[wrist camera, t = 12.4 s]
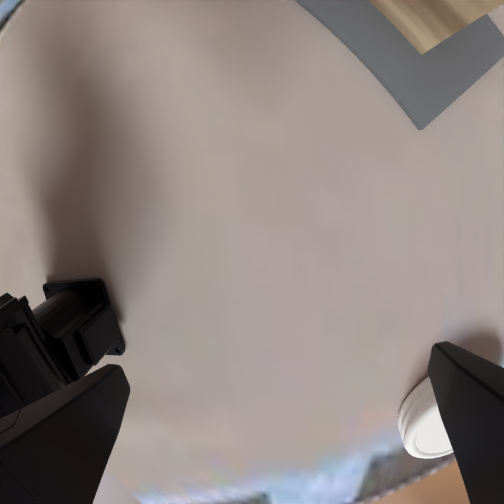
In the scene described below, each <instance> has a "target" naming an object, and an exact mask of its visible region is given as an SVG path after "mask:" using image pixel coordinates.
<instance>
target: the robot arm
mask: <svg viewBox="0 0 504 504" xmlns="http://www.w3.org/2000/svg"><path fill="white" fill-rule="evenodd" d="M96 283H97V284H98V285H99V287H97V285H96ZM43 291H44V294H45V297H46V301H44V302H43V303H42V304H40V305H39V306H37V307H36V308H35V309H33V310H31V308H30V307H29V305H28V303H29V302H28V300H27V298H26V296H23V297H21V298H19V299H17V298H15V297H12V296H11V295H10V294H8V293H6V294H4V295H2V296H1V297H0V504H93V500H94V498H95V495H96V492H97V489H98V487H99V484H100V481H101V478H102V475H103V473H104V470H105V467H106V465H107V462H108V459H109V457H110V454H111V452H112V449H113V446H114V444H115V441H116V439H117V436H118V433H119V430H120V427H121V423H122V419H123V416H124V412H125V409H126V405H127V401H128V398H129V394H130V386H129V383H128V381H127V378H126V376H125V373H124V371H123V369H122V367H121V366H120V365H115V364H107V365H105V366H103V367H102V368H100V369H98V370H96V371H94V372H92V373H90V374H88V375H86V374H87V373H88V371H89V370H90V369H91V368H92V366H93V365H94V366H96V365H97V364H98V362H99V361H100V360H101V359H102V358H103V356H104V355H119V356H120V355H122V354H123V353H124V352H125V347H124V344H123V341H122V338H121V335H120V332H119V329H118V326H117V323H116V320H115V317H114V314H113V311H112V308H111V305H110V302H109V299H108V295H107V292H106V289H105V285H104V283H103V281H102V280H101V279H99V278H92V279H80V280H67V281H54V282H47V283H45V284H44V285H43ZM118 348H119V349H120V350H119V349H118ZM428 374H429V378H430V381H431V385H432V388H433V391H434V395H435V399H436V402H437V406H438V410H439V413H440V416H441V419H442V422H443V425H444V427H445V430H446V433H447V435H448V438H449V441H450V443H451V446H452V449H453V452H454V454H455V457H456V460H457V463H458V466H459V469H460V472H461V475H462V478H463V481H464V484H465V488H466V491H467V494H468V498H469V501H470V504H504V368H503V367H501V366H499V365H496V364H494V363H492V362H490V361H488V360H486V359H484V358H482V357H479V356H477V355H475V354H473V353H471V352H469V351H467V350H465V349H462V348H460V347H458V346H456V345H454V344H452V343H450V342H447V341H444V342H439V343H435V344H434V345H433V347H432V350H431V356H430V361H429V366H428ZM85 375H86V376H85ZM84 376H85V377H84Z"/></svg>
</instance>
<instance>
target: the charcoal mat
mask: <svg viewBox="0 0 504 504" xmlns="http://www.w3.org/2000/svg"><path fill="white" fill-rule="evenodd" d="M295 1H296V2H298V3H299V4H300V5H301V6H303V7H304V8H305V9H306V10H307V11H309V12H310V13H311V14H312V15H313V16H314V17H316V18H317V19H318V20H319V21H320V22H321V23H322V24H324V25H325V26H326V27H327V28H328V29H329V30H330V31H331V32H332V33H333V34H334V35H335V36H337V37H338V38H339V39H340V40H341V41H342V42H343V43H344V44H345V45H346V46H347V47H348V48H349V49H350V50H351V51H352V52H353V53H354V54H355V55H356V56H357V57H358V58H359V59H360V60H361V61H362V63H363V64H364V65H365V66H366V67H367V68H368V69H369V70H370V71H371V72H372V73H373V74H374V76H375V77H376V78H377V79H378V80H379V81H380V82H381V83H382V85H383V86H384V87H385V88H386V89H387V90H388V92H389V93H390V94H391V95H392V96H393V98H394V99H395V100H396V101H397V103H398V104H399V105H400V106H401V108H402V109H403V110H404V111H405V113H406V114H407V115H408V117H409V118H410V119H411V120H412V122H413V123H414V124H415V126H416V127H417V129H418V130H422V129H424V128H425V127H426V126H427V125H428V124H429V123H430V122H431V121H433V120H434V119H435V118H436V117H437V116H438V115H439V114H440V113H442V112H443V111H444V110H445V109H446V108H447V107H448V106H449V105H450V104H452V103H453V102H454V101H455V100H456V99H457V98H458V97H459V96H460V95H462V94H463V93H464V92H465V91H466V90H467V89H468V88H469V87H470V86H472V85H473V84H474V83H475V82H476V81H477V80H478V79H479V78H480V77H481V76H483V75H484V74H485V73H486V72H487V71H488V70H489V69H490V68H491V67H492V66H493V65H495V64H496V63H497V62H498V61H499V60H500V59H501V58H502V57H503V56H504V36H503V35H502V33H501V32H500V31H499V29H498V28H497V27H496V25H495V24H494V23H493V21H492V20H491V19H490V17H489V16H488V15H487V14H485V15H483V16H482V17H480V18H478V19H477V20H475V21H474V22H472V23H470V24H469V25H467V26H465V27H464V28H462V29H461V30H459V31H458V32H456V33H454V34H453V35H451V36H450V37H448V38H447V39H445V40H444V41H442V42H440V43H439V44H437V45H436V46H434V47H433V48H431V49H430V50H428V51H427V52H425V53H424V54H422V55H421V54H420V53H419V52H418V51H417V50H416V49H415V48H414V46H413V45H412V44H411V43H410V42H409V41H408V40H407V39H406V38H405V36H404V35H403V34H402V33H401V32H400V31H399V30H398V29H397V28H396V27H395V26H394V25H393V24H392V23H391V22H390V21H389V20H388V19H387V18H386V17H385V16H384V15H383V14H382V13H381V12H380V11H379V10H378V9H377V8H376V7H375V6H374V5H373V4H371V3H370V2H369V1H368V0H295Z"/></svg>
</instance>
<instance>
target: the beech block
mask: <svg viewBox="0 0 504 504" xmlns="http://www.w3.org/2000/svg"><path fill="white" fill-rule="evenodd" d="M368 1H369V2H370V3H371V4H373V5H374V6H375V7H376V8H377V9H378V10H379V11H380V12H381V13H382V14H383V15H384V16H385V17H386V18H387V19H388V20H389V21H390V22H391V23H392V24H393V25H394V26H395V27H396V28H397V29H398V30H399V31H400V32H401V33H402V34H403V35H404V36H405V38H406V39H407V40H408V41H409V42H410V43H411V44H412V45H413V46H414V48H415V49H416V50H417V51H418V52H419V53H420V54H421V55H422V54H424V53H425V52H427V51H428V50H430V49H431V48H433V47H434V46H436V45H437V44H439V43H440V42H442V41H444V40H445V39H447V38H448V37H450V36H451V35H453V34H454V33H456V32H458V31H459V30H461V29H462V28H464V27H465V26H467V25H469V24H470V23H472V22H474V21H475V20H477V19H478V18H480V17H482V16H483V15H485V14H487V13H488V12H490V11H492V10H493V9H495V8H497V7H499V6H500V5H502V4H504V0H368Z"/></svg>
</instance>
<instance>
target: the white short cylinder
mask: <svg viewBox="0 0 504 504" xmlns="http://www.w3.org/2000/svg"><path fill="white" fill-rule="evenodd" d="M398 428H399V431H400V432H401V438H402V440H403V442H404V447H405V449H406V450H407V452H408V453H409V454H411V455H412V456H415V457H418V458H436V457H441V456H444V455H447V454H450V453H452V452H453V449H452V446H451V443H450V441H449V438H448V435H447V433H446V430H445V427H444V425H443V422H442V419H441V416H440V413H439V410H438V406H437V402H436V399H435V395H434V391H433V388H432V385H431V381H430V378H429V376H428V377H427V378H426V379H424V380H423V381H422V382H421V383H420V384H419V385H418V386H417V387H416V388H415V389H414V390H413V391H412V392H411V393H410V394H409V396H408V397H407V398H406V400H405V401H404V403H403V404H402V406H401V409H400V411H399V415H398Z"/></svg>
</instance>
